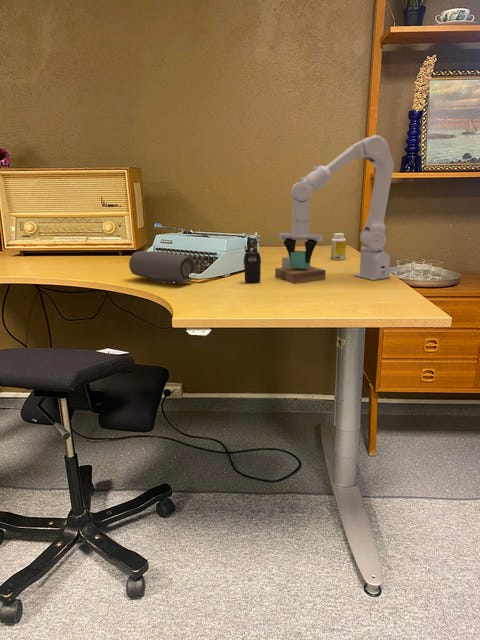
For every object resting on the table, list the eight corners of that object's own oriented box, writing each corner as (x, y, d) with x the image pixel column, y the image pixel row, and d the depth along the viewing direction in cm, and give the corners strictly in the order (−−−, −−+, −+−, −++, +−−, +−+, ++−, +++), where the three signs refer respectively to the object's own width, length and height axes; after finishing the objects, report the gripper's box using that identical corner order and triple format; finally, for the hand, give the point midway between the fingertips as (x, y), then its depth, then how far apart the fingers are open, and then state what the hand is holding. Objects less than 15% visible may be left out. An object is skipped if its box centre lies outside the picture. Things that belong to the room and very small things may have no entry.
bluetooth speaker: (198, 282, 156) (196, 252, 153) (179, 288, 149) (177, 257, 146) (148, 276, 168) (146, 248, 166) (129, 281, 161) (126, 251, 158)
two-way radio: (244, 283, 153) (243, 237, 148) (244, 280, 157) (243, 235, 153) (261, 283, 153) (260, 236, 148) (260, 280, 157) (260, 234, 153)
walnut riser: (325, 279, 156) (325, 270, 155) (295, 283, 151) (295, 274, 150) (304, 273, 166) (304, 264, 165) (275, 277, 161) (275, 268, 160)
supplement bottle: (347, 259, 190) (349, 233, 187) (339, 260, 187) (340, 234, 184) (337, 257, 195) (338, 232, 191) (328, 259, 191) (328, 233, 188)
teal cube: (310, 266, 159) (310, 251, 157) (304, 268, 154) (304, 253, 153) (296, 265, 161) (296, 250, 160) (290, 267, 157) (290, 252, 155)
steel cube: (301, 272, 169) (301, 258, 167) (289, 273, 166) (289, 259, 165) (293, 269, 173) (293, 256, 171) (282, 271, 171) (282, 257, 169)
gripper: (326, 219, 153) (325, 261, 157) (285, 218, 160) (285, 258, 164) (318, 222, 147) (317, 265, 151) (276, 220, 154) (276, 261, 158)
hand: (300, 261), depth 157 cm, fingers closed on teal cube, 5 cm apart
